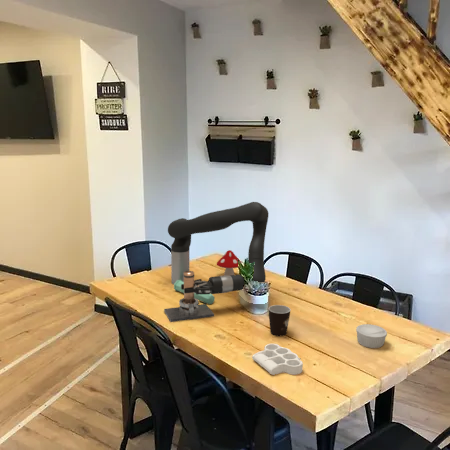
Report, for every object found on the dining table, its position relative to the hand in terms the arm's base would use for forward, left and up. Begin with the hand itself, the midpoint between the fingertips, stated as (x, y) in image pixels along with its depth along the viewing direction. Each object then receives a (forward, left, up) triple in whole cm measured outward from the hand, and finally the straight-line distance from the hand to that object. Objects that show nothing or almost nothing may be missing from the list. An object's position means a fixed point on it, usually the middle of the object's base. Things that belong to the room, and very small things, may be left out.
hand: (183, 288), depth 203 cm
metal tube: (0, +3, -9) cm, 9 cm away
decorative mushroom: (-42, +37, -12) cm, 57 cm away
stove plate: (0, +3, -12) cm, 12 cm away
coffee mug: (+29, +33, -12) cm, 45 cm away
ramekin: (+48, +61, -12) cm, 78 cm away
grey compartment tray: (+51, +21, -12) cm, 56 cm away
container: (-19, +11, -12) cm, 25 cm away
